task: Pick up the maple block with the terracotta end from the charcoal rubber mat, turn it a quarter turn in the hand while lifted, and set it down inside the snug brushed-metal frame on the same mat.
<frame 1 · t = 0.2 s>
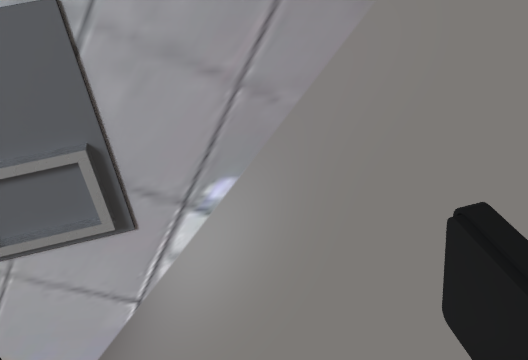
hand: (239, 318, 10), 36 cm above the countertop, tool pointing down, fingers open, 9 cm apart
metal frame: (33, 197, 48), resting on rubber mat
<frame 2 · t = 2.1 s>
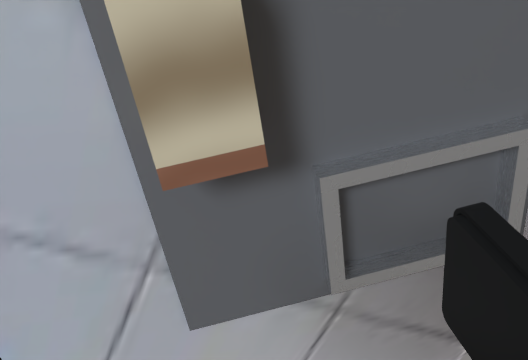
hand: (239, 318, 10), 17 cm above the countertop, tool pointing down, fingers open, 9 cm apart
metal frame: (414, 198, 32), resting on rubber mat
maple block: (187, 59, 24), resting on rubber mat
rubber mat: (350, 137, 29), on the countertop
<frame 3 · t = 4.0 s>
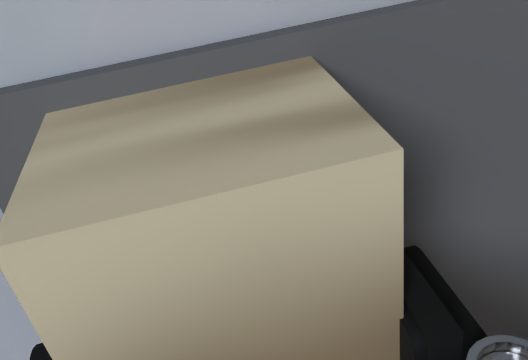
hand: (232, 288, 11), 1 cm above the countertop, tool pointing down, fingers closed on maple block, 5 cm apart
maple block: (227, 264, 12), resting on rubber mat, touching gripper
rubber mat: (502, 344, 16), on the countertop
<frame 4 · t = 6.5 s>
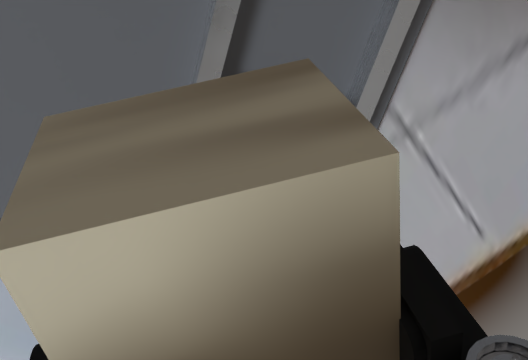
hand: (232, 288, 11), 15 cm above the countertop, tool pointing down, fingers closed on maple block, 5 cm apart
maple block: (225, 266, 12), point 15 cm above the countertop, touching gripper
rubber mat: (176, 46, 23), on the countertop
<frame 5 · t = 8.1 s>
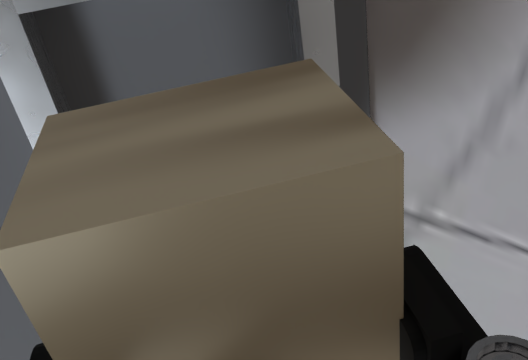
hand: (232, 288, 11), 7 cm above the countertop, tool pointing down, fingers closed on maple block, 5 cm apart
metal frame: (199, 144, 17), resting on rubber mat
maple block: (227, 266, 12), point 6 cm above the countertop, touching gripper
rubber mat: (77, 272, 19), on the countertop
when the fingers open (4 cm above the countertop, at t = 9.2 s): maple block drops 2 cm, resting on rubber mat.
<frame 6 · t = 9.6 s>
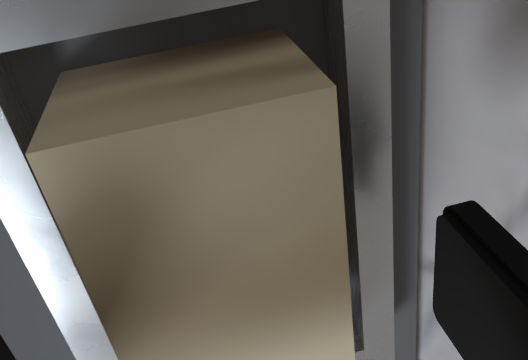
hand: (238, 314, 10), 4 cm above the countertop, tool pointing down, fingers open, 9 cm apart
metal frame: (212, 201, 14), resting on rubber mat
maple block: (211, 209, 14), resting on rubber mat
rubber mat: (65, 347, 16), on the countertop
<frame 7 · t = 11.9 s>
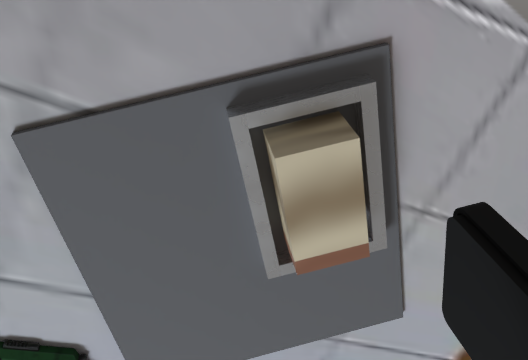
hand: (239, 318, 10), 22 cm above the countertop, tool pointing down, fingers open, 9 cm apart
metal frame: (309, 175, 34), resting on rubber mat
maple block: (309, 179, 34), resting on rubber mat
rubber mat: (243, 240, 36), on the countertop
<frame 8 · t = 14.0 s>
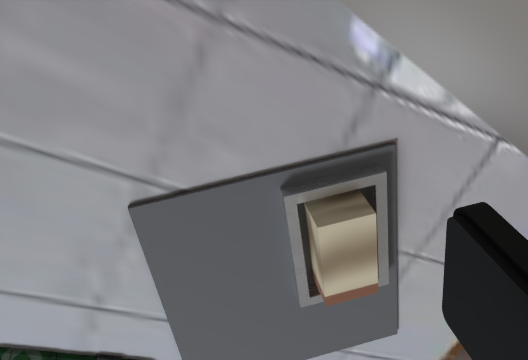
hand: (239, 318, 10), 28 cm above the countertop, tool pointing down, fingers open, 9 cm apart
metal frame: (334, 232, 47), resting on rubber mat
maple block: (334, 234, 46), resting on rubber mat
rubber mat: (282, 278, 48), on the countertop
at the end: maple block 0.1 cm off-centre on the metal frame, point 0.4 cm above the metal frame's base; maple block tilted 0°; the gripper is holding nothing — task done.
